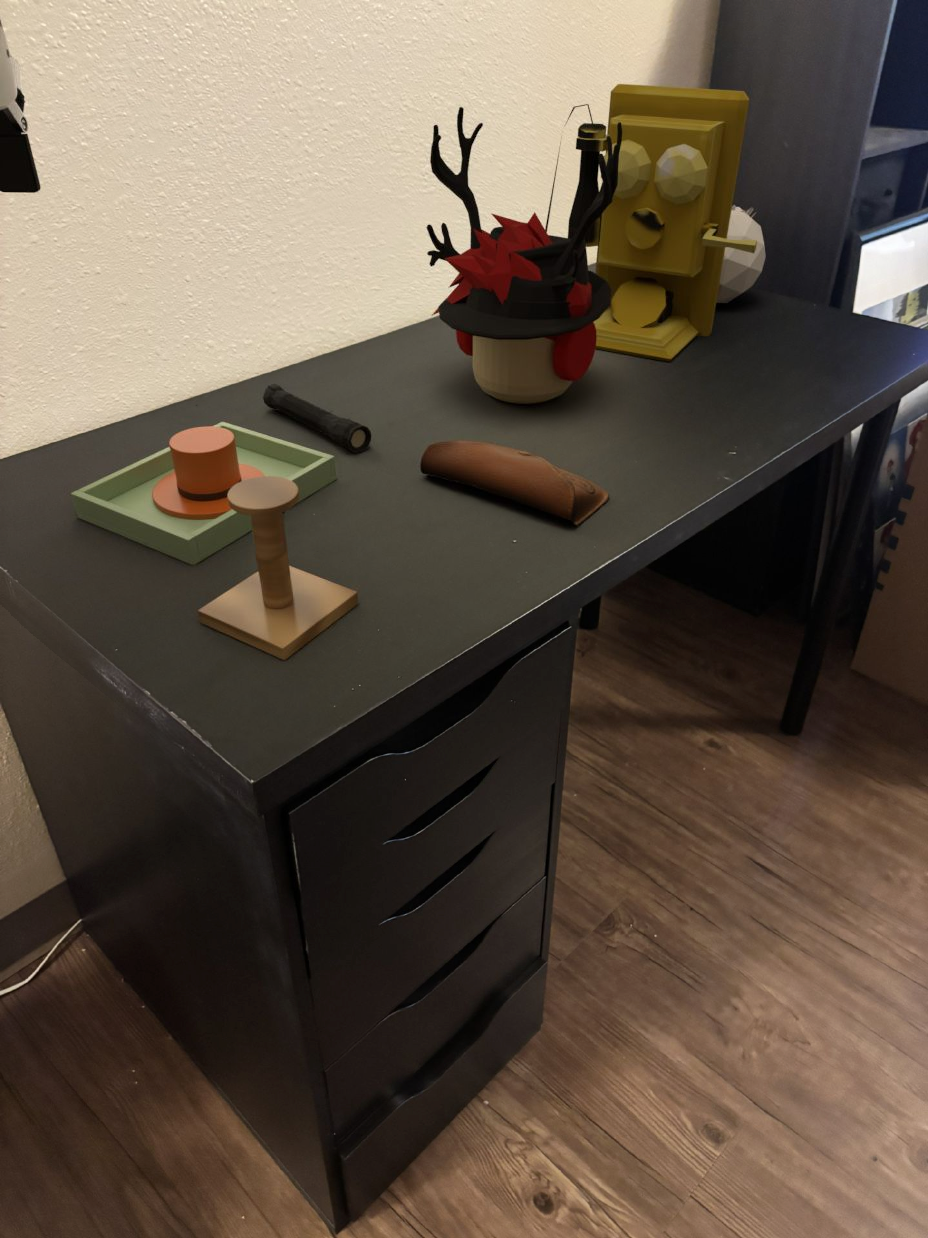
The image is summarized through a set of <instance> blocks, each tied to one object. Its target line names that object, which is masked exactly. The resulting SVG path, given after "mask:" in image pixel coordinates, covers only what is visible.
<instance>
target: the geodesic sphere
mask: <svg viewBox="0 0 928 1238" xmlns="http://www.w3.org/2000/svg"><path fill="white" fill-rule="evenodd" d="M753 211H754V207H750V208H748V209H747V210H744V209H742V208H741V207H740V206H736V205H735V204H732V209H731V215H730V222H729V228H728V234H727V239H729V240H751V241H757V246H756V251H755V253H750V252H746V251H742V250H738V249H734V248H730V247H725V252H724V258H723V264H722V271H721V277H720V283H719V289H718V295H717V301H716V304H728V303H730V302H731V301H733V300H734V299H735V298H737V297H738V296H740V295H742V294H744V293H745V292H746V291H747V290H749V289H751V288H752V287H753V286H754V284H755V283H756V281H757V280H758V278H759V277H760V275H761V274H762V272H763V268H764V265H765V261H766V257H767V255H766V248H765V247H766V246H765V240H764V235H763V230H762V226H761V225H760V224H759V223H758V222H756V221H755V219H754V218H753V217H754V216H755V215H756V213H757V212H754V213H753V214H752V212H753ZM751 214H752V215H751ZM750 215H751V216H750Z"/></svg>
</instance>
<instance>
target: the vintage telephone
mask: <svg viewBox="0 0 928 1238" xmlns="http://www.w3.org/2000/svg"><path fill="white" fill-rule="evenodd" d="M749 105H750V98H749V96H748V95H747V93H746V92H745V91H744V90H733V89H732V90H731V89H730V90H729V89H716V88H715V89H714V88H713V89H712V88H697V87H695V88H694V87H681V86H662V85H648V84H647V85H645V84H632V83H631V84H628V83H627V84H626V83H618V84H616V86H614V87H613V89H611V91H610V96H609V106H608V107H609V109H608V120H607V126H606V125H605V124H604V123H594V121H593V117H592V113H591V109H590V105H589V104H588V103H585V104H581V105H576V106H573V107H572V109H571V111H570V113H569V115H568V118H567V120H566V121H565V124H564V126H563V128H564V127H565V126H566V125H567V123H568V121H569V119H570V118H571V116H572V114H573V112H574V110H575V109H576V108H579V107H585V106H587V109H588V113H589V118H590V123H589V122H588V123H587V122H583V123H582V124H580V125H579V126H578V128H577V137H576V139H575V150H579V151H580V162H579V173H578V175H579V176H578V183H577V188H576V191H575V195H574V199H573V201H572V206H571V210H570V214H569V218H568V227H567V230H568V231H567V238H569V239H572V238H573V236H574V234H575V232H576V230H577V228H578V226H579V224H580V222H581V220H582V218H583V216H584V214H585V212H586V211H587V210H588V209H589V208H590V207H591V206H592V204H593V202H594V200H595V198H596V196H597V195H598V193H599V191H600V187H599V171H600V167H599V157H598V156H599V154H601V153H602V152H605V154H603V156H604V159H605V163H606V165H607V160H608V147H607V138H606V137H607V136H610V138H611V141H612V154H613V150H614V146H615V145H616V144H617V125H618V123H619V122H620V123H621V125H622V142H621V147H620V152H619V164H618V185H617V188H616V190H615V193H614V195H613V199H612V203H611V204H610V205H609V206H608V207H607V208H606V209H605V211H604V212H603V213H602V215H601V216H600V217H599V218H598V219H597V220H596V221H595V223H594V224H593V226H592V227H591V228H590V230H589V231H588V233H587V235H586V237H585V243H586V248H592V247H593V248H594V247H597V248H596V250H597V252H596V259H595V260H596V262H595V272H594V273H595V274H597V275H598V276H600V277H602V278H603V279H605V280H606V281H607V282H608V284H609V286H610V287H611V289H612V294H611V301H610V305H609V307H608V308H607V309H606V310H605V311H604V313H603V314H602V315H601V316H600V318H599V319H597V320H596V321H594V324H595V328H596V347H595V350H602V351H607V352H613V353H618V354H624V355H629V356H635V357H639V358H640V357H641V358H645V359H651V360H655V361H656V360H658V361H661V362H669V363H670V362H671V361H672V360H673V359H674V358H675V357H676V356H677V355H678V354H680V352H681V351H682V350H683V349H684V348H685V347H687V346H688V344H689V343H690V342H691V341H693V340H694V339H695V338H696V337H710V336H711V335H712V333H713V332H712V331H713V327H714V326H713V325H714V319H715V313H716V306H717V303H716V301H717V295H718V289H719V283H720V277H721V271H722V264H723V258H724V252H725V247H730V248H734V249H738V250H742V251H746V252H750V253H755V251H756V246H757V241H751V240H729V239H727V234H728V228H729V222H730V215H731V209H732V206H733V202H734V196H735V190H736V185H737V178H738V174H739V173H738V172H739V165H740V160H741V154H742V149H743V148H742V147H743V141H744V135H745V130H746V123H747V116H748V111H749ZM561 133H563V130H562V132H561ZM562 138H563V136H561V138H560V139H562ZM561 143H562V141H560V143H559V144H560V145H561ZM560 150H561V147H559V149H558V152H561V151H560ZM559 156H560V153H558V155H557V160H556V165H555V170H554V171H555V172H554V175H553V177H554V178H553V182H552V188H551V193H550V194H551V195H550V200H549V206H548V211H547V217H546V223H545V227H544V229H545V231H546V232H547V233H548V227H549V221H550V216H551V210H552V209H551V208H552V203H553V195H554V189H555V182H556V177H557V170H558V163H559ZM600 179H602V177H601V176H600Z"/></svg>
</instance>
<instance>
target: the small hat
mask: <svg viewBox="0 0 928 1238" xmlns="http://www.w3.org/2000/svg"><path fill="white" fill-rule="evenodd" d="M212 426H213V425H212ZM212 426H211V425H209V426H208V425H207V426H206V425H205V426H198V427H192V428H187V429H184V430H182V431H179V432H178V433H176V434H174V435H172V437H170V439H169V442H168V447H170V450H171V455H172V460H173V465H174V470H175V471H174V472H172V473H170V474H168V475H167V476H165V477H164V478H162V479H161V480H160V481H159V482H158V483H157V484H156V485H155V487H154V488H153V492H152V497H153V501H154V504H155V506H156V507H157V508H158V509H159V510H160V511H162V512H163V513H166V514H168V515H171V516H174V517H178V518H183V519H194V520H202V519H214V518H218V517H219V516H221V515H223V514H225V513H226V512H228V511H230V510H232V509H231V507H230V506H229V504H228V498H227V494H228V492H229V490H230V489H231V488H232V487H233V486H234V485H236V484H237V483H239V482H241V481H244V480H247V479H251V478H255V477H263V476H265V475H264V474H263V473H262V472H261V471H260V470H258V469H256V468H254V467H252V466H249V465H245V464H241V463H238V457H237V451H236V445H235V438H234V435H233V433H232V432H231V431H229V430H227V429H225V428H221V427H212Z"/></svg>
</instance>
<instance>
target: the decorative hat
mask: <svg viewBox="0 0 928 1238" xmlns="http://www.w3.org/2000/svg"><path fill="white" fill-rule="evenodd" d="M464 109H465V108H464V107H462V106H459V107H458V111H457V115H456V116H457V117H456V128H457V136H458V137H457V138H458V144H459V148H460V154H461V166H460V171H459V172H458V173H457V174H456V173H455V172H454V171H453V170H452V169H451V168H450V167H449V166H448V165H447V163H446V162H445V161H444V159H443V158H442V157H441V151H440V141H441V139H442V136H441V135H440V134H439V133H440V132H439V131H440V130H439V125H438V124H434V125H433V133H432V143H431V148H430V158H429V159H430V160H429V162H430V168H431V173H432V174H433V175H434V176H435V178H436V179H437V180H438V181H439V183H441V184H443V185H444V186H445V187H446V188H447V189H448V190H449V191H451V192H452V193H453V194H454V195H455V196H456V197H457V198H459V200H460V201H462V203H463V206H464V207H465V210H466V212H467V215H468V221H469V226H470V243H469V244H470V248H468V249H467V250H465V251H464V252H462V253H459V251H457V250H456V248H455V247H454V246H453V243H452V240H451V236H450V232H449V228H448V226H447V224H446V223H445V222H442V223H441V225H440V229H441V235H442V238H443V242H441V240H439V238H438V236H437V235H436V233H435V230H434V227H433V226H432V224H430V223H429V224H427V226H426V231H427V233H428V236H429V238H430V241H431V242H432V245H433V247H434V248H435V249H436V250H435V249H432V250H428V251H427V256H430V261H429V266H430V267H435V265H436V263H437V262H438V261H439V260H441V261H445V262H447V263H448V264H449V265H450V266H451V267H452V268H453V269H455V271H456V272H457V273H458V274H457V275H456V277H455V278H454V279H453V281H452V282H451V284H450V285H449V286H448V288H452V287H455V286H456V287H455V288H454V289H452V291H451V292H450V294H449V295H448V296H447V297H446V298H445V299H444V300H443V301H442V302H441V303H440V304H439V305H438V306H437V308H436V310H435V311H433V313H432V314H431V316H434V315H436V314H438V315H439V320H441V321H442V322H443V323H444V324H445V325H447V326H448V327H450V328H451V329H452V330H455V335H456V343H457V346H458V348H459V350H460V351H462V352H463V353H464V354H465V355H466V356H470V357H472V371H473V376H474V380H475V382H476V384H477V385H478V386H479V387H480V389H481V390H482V392H484V393H485V394H487V395H489V396H491V397H493V398H495V399H496V400H499V401H502V402H505V403H511V404H519V405H523V404H524V405H527V404H528V405H529V404H530V405H532V404H539V403H544V402H548V401H550V400H552V399H554V398H557V397H559V396H560V395H563V394H564V393H565V392H566V391H567V389H569V387H570V386H571V385H572V383H573V382H577V381H579V380H580V379H582V378H583V377H584V375H586V373H587V372H588V370H589V368H590V366H591V364H592V363H593V359H594V356H595V352H596V349H595V347H596V328H595V324H594V321H596V320H597V319H599V318H600V316H601V315H602V314H603V313H604V311H605V310H606V309H607V308H608V307H609V305H610V301H611V294H612V289H611V287H610V286H609V284H608V282H607V281H606V280H605V279H603V278H602V277H600V276H598V275H597V274H595V272H594V271H592V270H589V265H588V252H587V247H586V243H585V237H586V235H587V233H588V231H589V230H590V228H591V227H592V226H593V224H594V223H595V221H596V220H597V219H598V218H599V217H600V216H601V215H602V213H603V212H604V211H605V209H606V208H607V207H608V206H609V205H610V204H611V203H612V199H613V195H614V193H615V190H616V188H617V185H618V164H619V152H620V147H621V142H622V125H621V123H620V122H619V123H618V125H617V144H616V145H615V146H614V150H613V154H612V141H611V138H610V136H607V137H606V138H607V147H608V160H607V165H606V163H605V159H604V154H603V153H600V154H599V156H598V157H599V172H600V178H601V177H602V178H601V181H602V182H601V186H600V187H599V193H598V195H597V196H596V198H595V200H594V202H593V204H592V206H591V207H590V208H589V209H588V210H587V211H586V212H585V214H584V216H583V218H582V220H581V222H580V224H579V226H578V228H577V230H576V232H575V234H574V236H573V238H572V239H569V238H568V237H562V236H557V235H551V234H548V231H547V232H546V231H545V227H544V225H543V223H542V222H541V220H540V218H539V217H538V215H537V214H536V212H535V211H534V213H533V214H532V215H531V217H530V219H529V220H528V222H524V221H519V220H516V219H512V218H509V217H505V216H502V215H499V214H495V213H490V215H492V217H493V218H494V219H495V220H496V221H497V222H498V224H499V225H500V226H496V227H493V229H492V230H491V231H490V233H489V232H488V231H486V230H484V229H482V225H481V218H480V211H479V207H478V204H477V201H476V197H475V194H474V193H473V191H472V189H471V188H470V186H469V167H470V166H469V165H470V159H471V152H472V147H473V144H474V143H475V140H476V138H477V137H478V134H479V132H480V131H481V129H482V128H483V126H484V123H483V122H480V123H478V124H477V125H476V127H475V128H474V130H473V132H472V133H471V136H470V137H466V135H465V133H464V127H463V123H464Z"/></svg>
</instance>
